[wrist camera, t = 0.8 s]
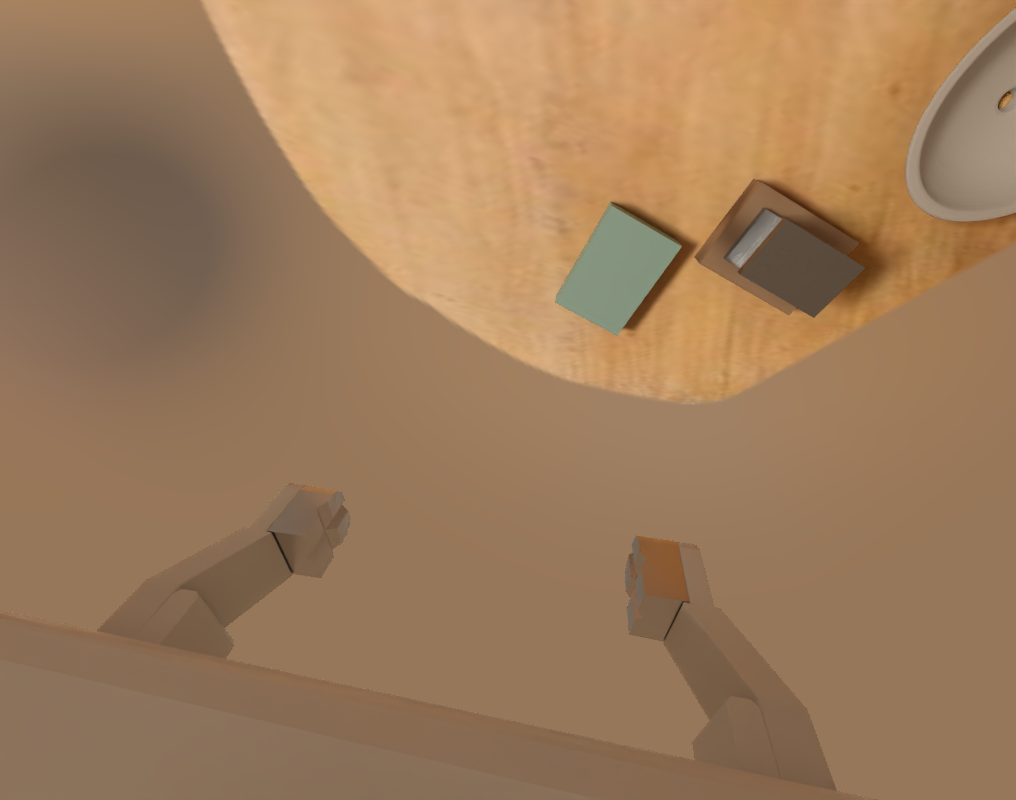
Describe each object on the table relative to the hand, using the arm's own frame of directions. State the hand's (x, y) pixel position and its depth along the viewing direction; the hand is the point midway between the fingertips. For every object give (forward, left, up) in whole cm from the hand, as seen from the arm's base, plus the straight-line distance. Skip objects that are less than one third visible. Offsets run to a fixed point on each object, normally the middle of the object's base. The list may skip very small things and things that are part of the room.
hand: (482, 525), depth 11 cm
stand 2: (-8, +19, -39) cm, 44 cm away
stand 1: (+1, +7, -39) cm, 40 cm away
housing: (-8, +19, -37) cm, 42 cm away
